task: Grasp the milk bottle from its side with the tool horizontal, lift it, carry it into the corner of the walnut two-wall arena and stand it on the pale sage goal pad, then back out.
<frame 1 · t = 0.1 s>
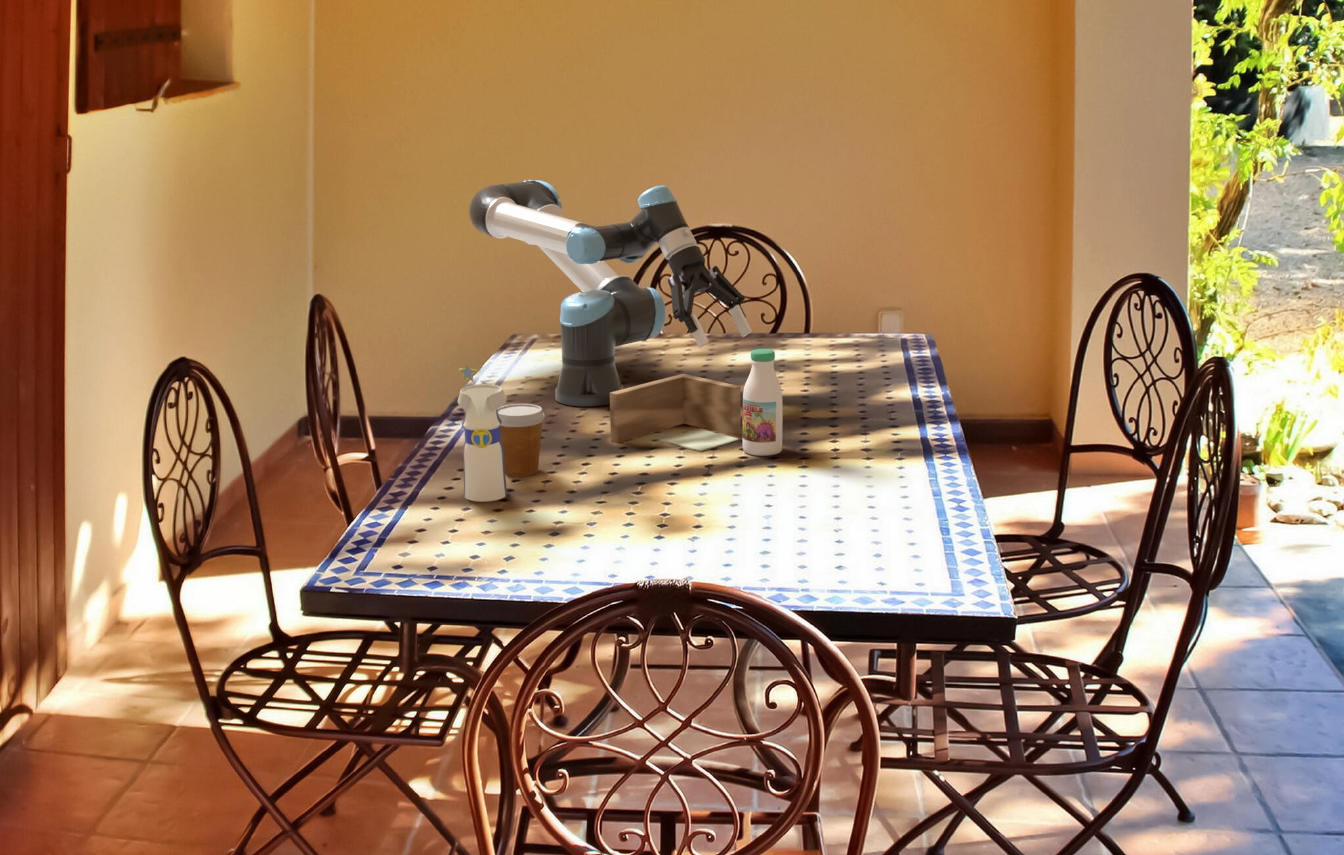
hand: (725, 339, 306), 15 cm above the table, tool tilted 35°, fingers open, 13 cm apart
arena: (699, 440, 287), on the table
disposable coffee cup: (521, 472, 269), on the table
milk bottle: (762, 452, 280), on the table
cream tall piece: (486, 495, 256), on the table
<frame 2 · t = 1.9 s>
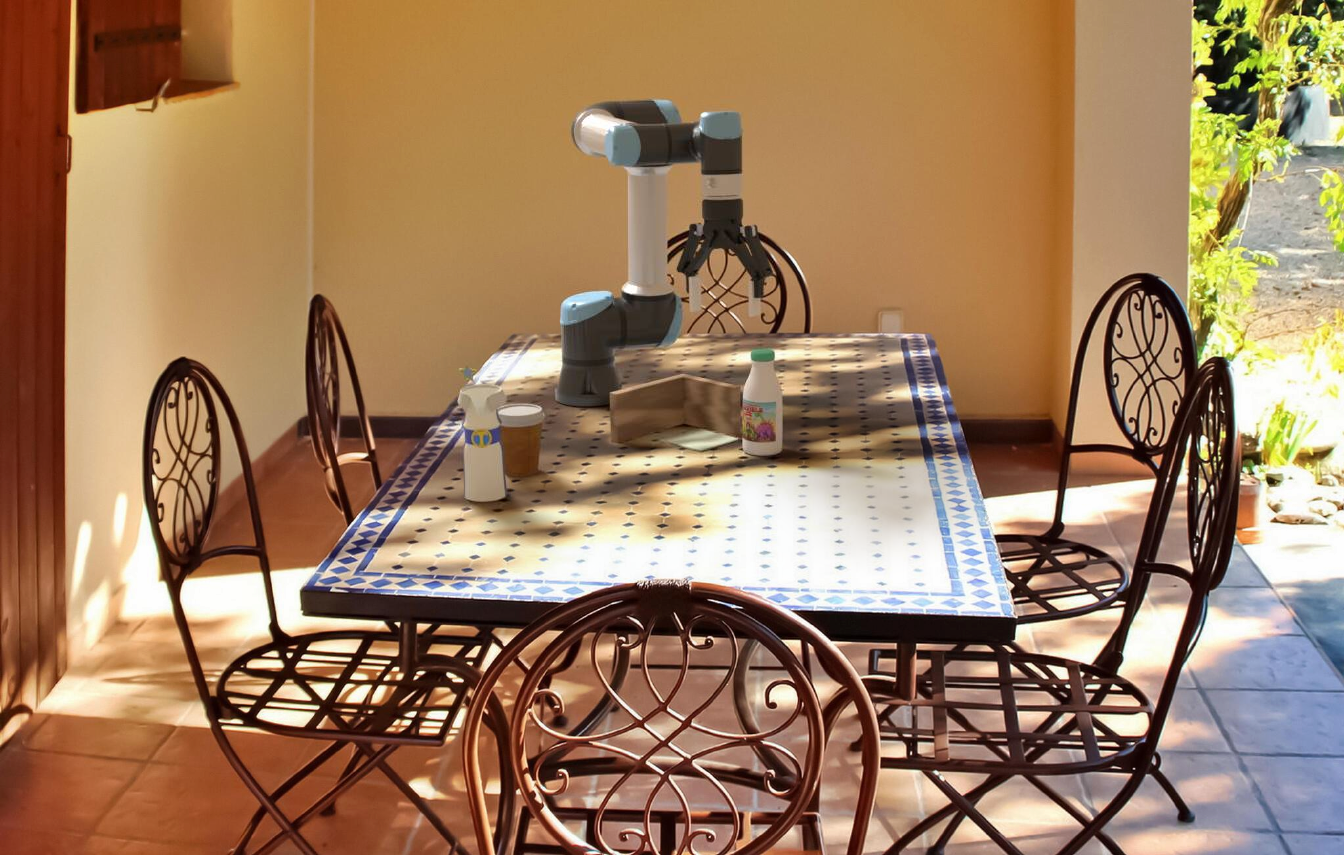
hand: (724, 313, 267), 28 cm above the table, tool pointing down, fingers open, 13 cm apart
nothing on the table moved.
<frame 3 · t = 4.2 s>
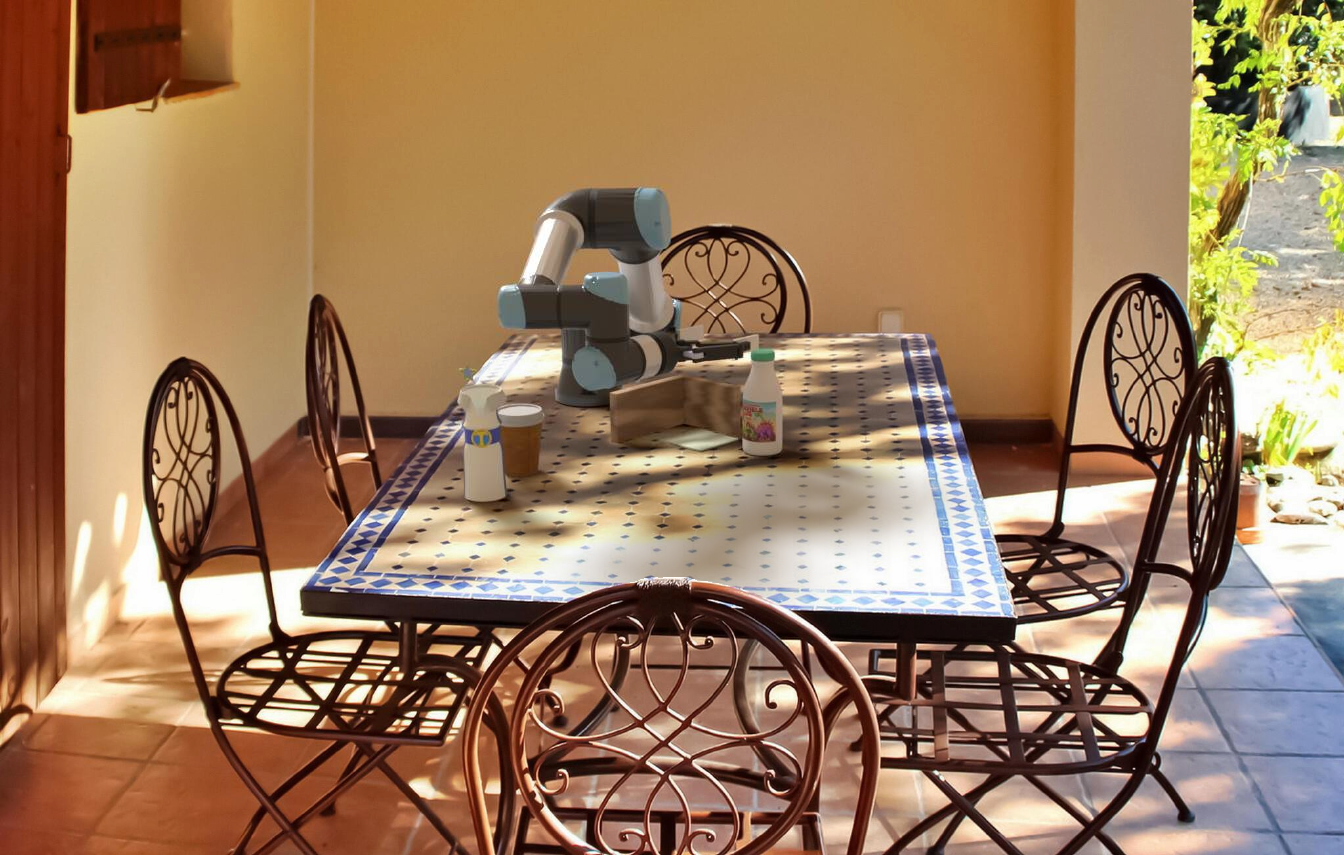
hand: (729, 336, 267), 24 cm above the table, tool horizontal, fingers open, 13 cm apart
nothing on the table moved.
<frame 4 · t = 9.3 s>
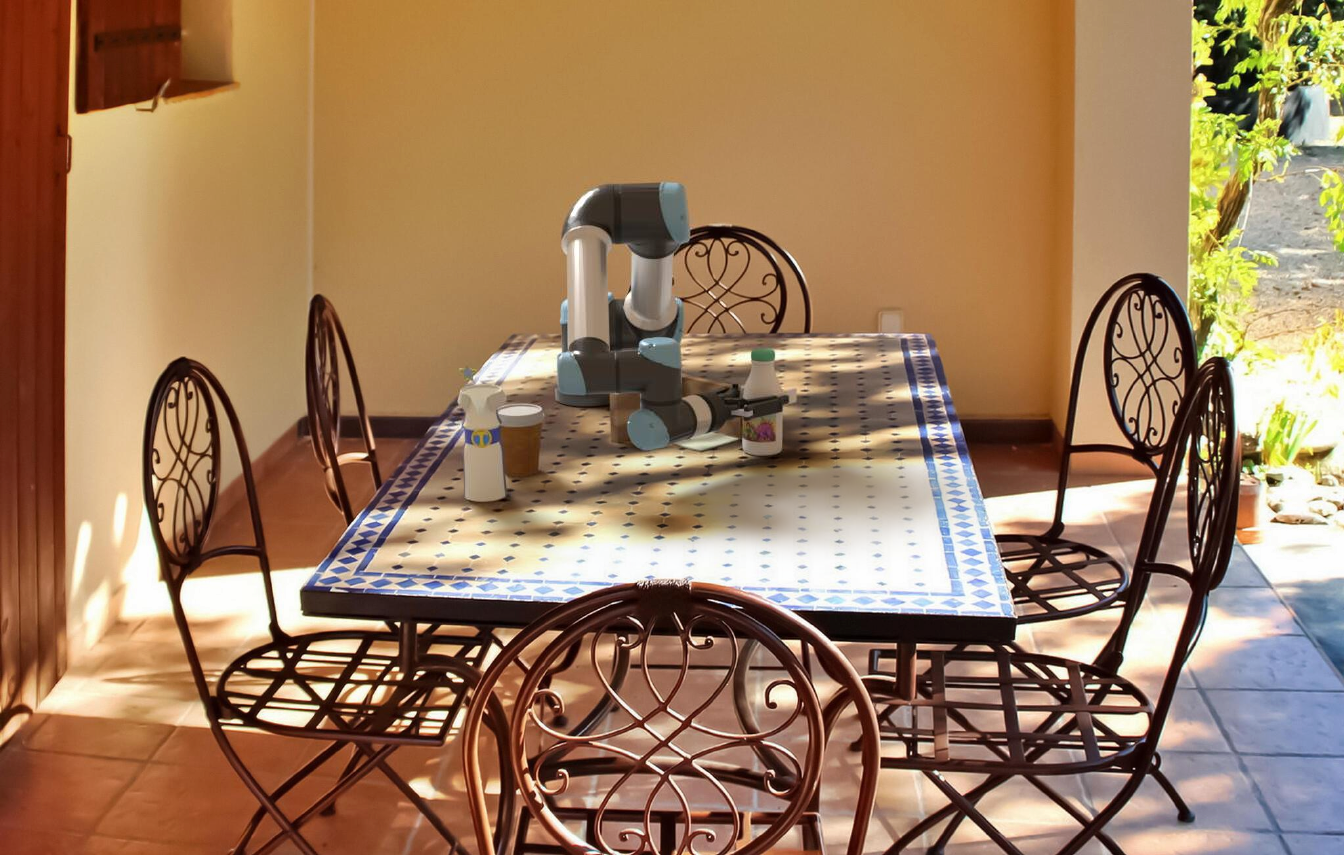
hand: (778, 391, 280), 11 cm above the table, tool horizontal, fingers closed on milk bottle, 7 cm apart
milk bottle: (762, 451, 280), on the table, touching gripper
everything else where it was.
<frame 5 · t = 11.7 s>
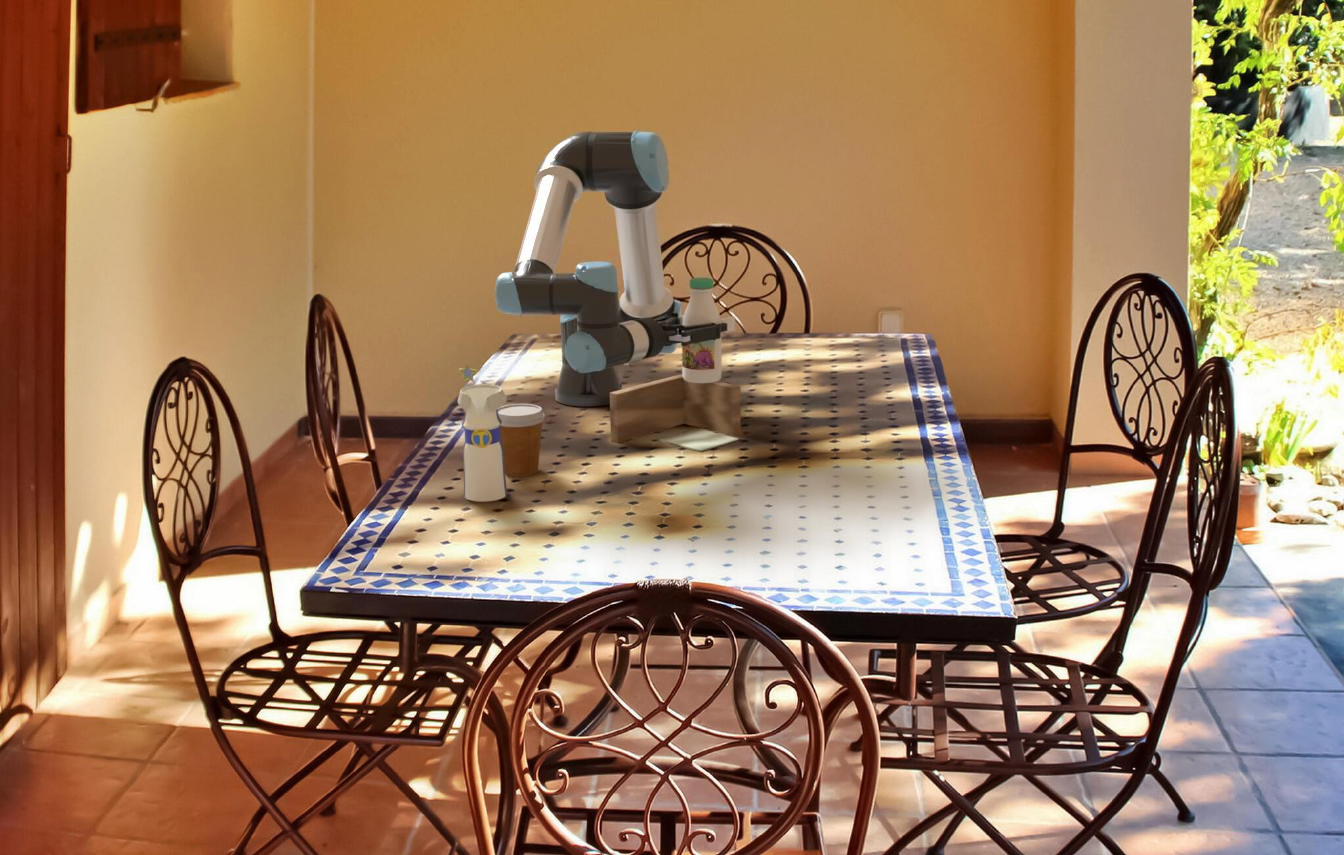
hand: (718, 320, 284), 24 cm above the table, tool horizontal, fingers closed on milk bottle, 7 cm apart
milk bottle: (701, 380, 284), point 12 cm above the table, touching gripper
everything else where it was.
when the fingers open (12 cm above the table, at t = 14.4 s): milk bottle drops 1 cm, resting on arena.
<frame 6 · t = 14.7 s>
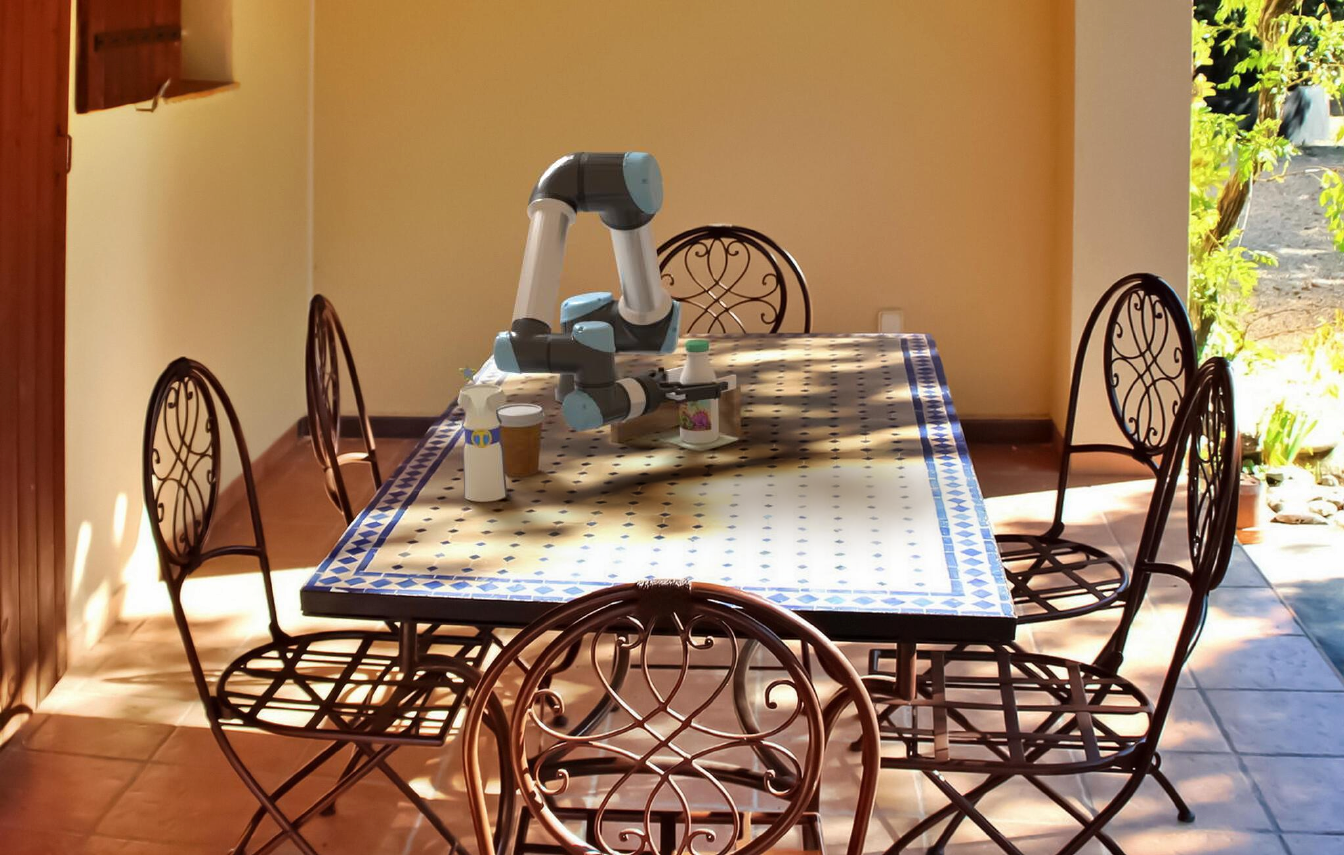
hand: (711, 376, 286), 12 cm above the table, tool horizontal, fingers open, 11 cm apart
milk bottle: (699, 440, 287), resting on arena
everything else where it was.
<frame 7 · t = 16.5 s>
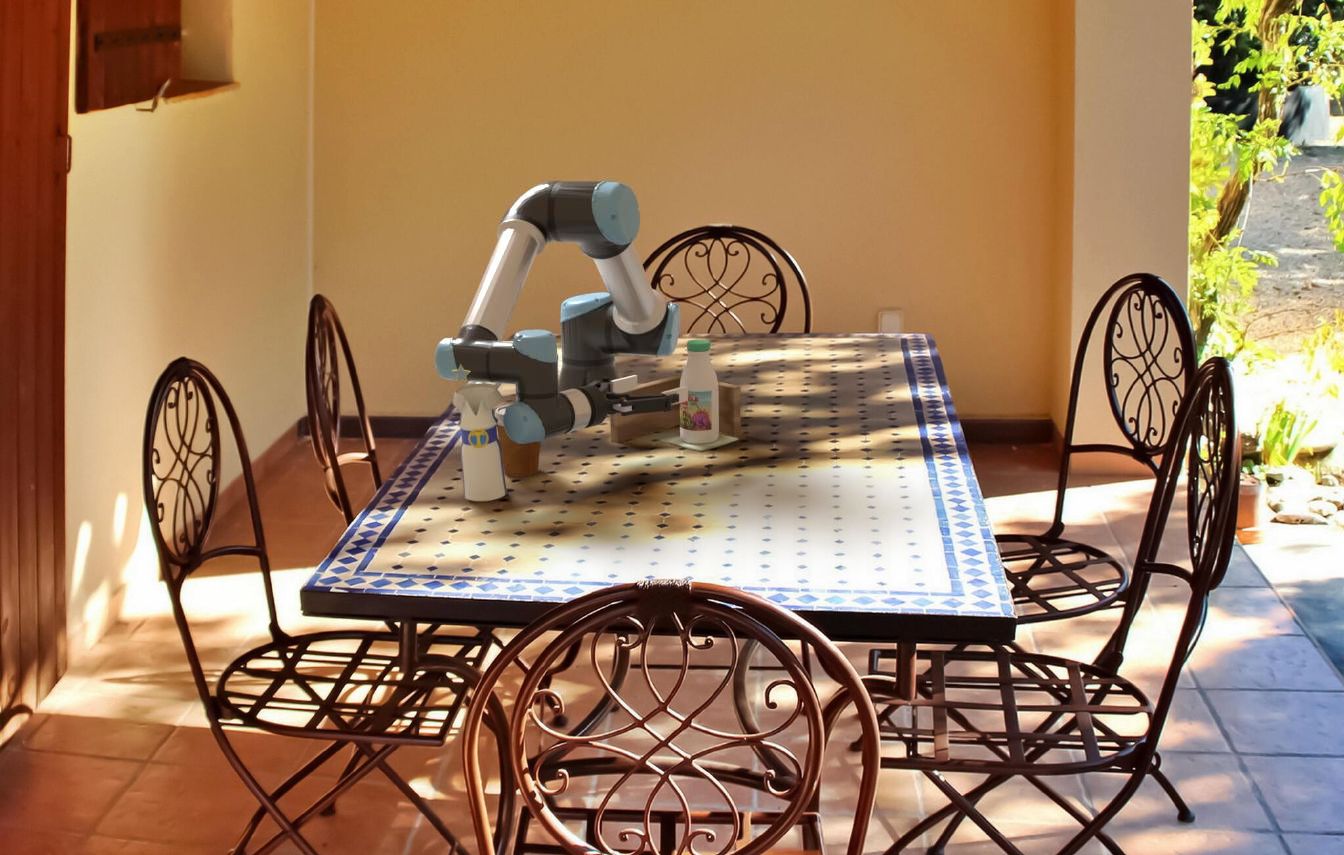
hand: (661, 387, 276), 13 cm above the table, tool horizontal, fingers open, 13 cm apart
cream tall piece: (486, 494, 256), on the table, touching arm
everything else where it was.
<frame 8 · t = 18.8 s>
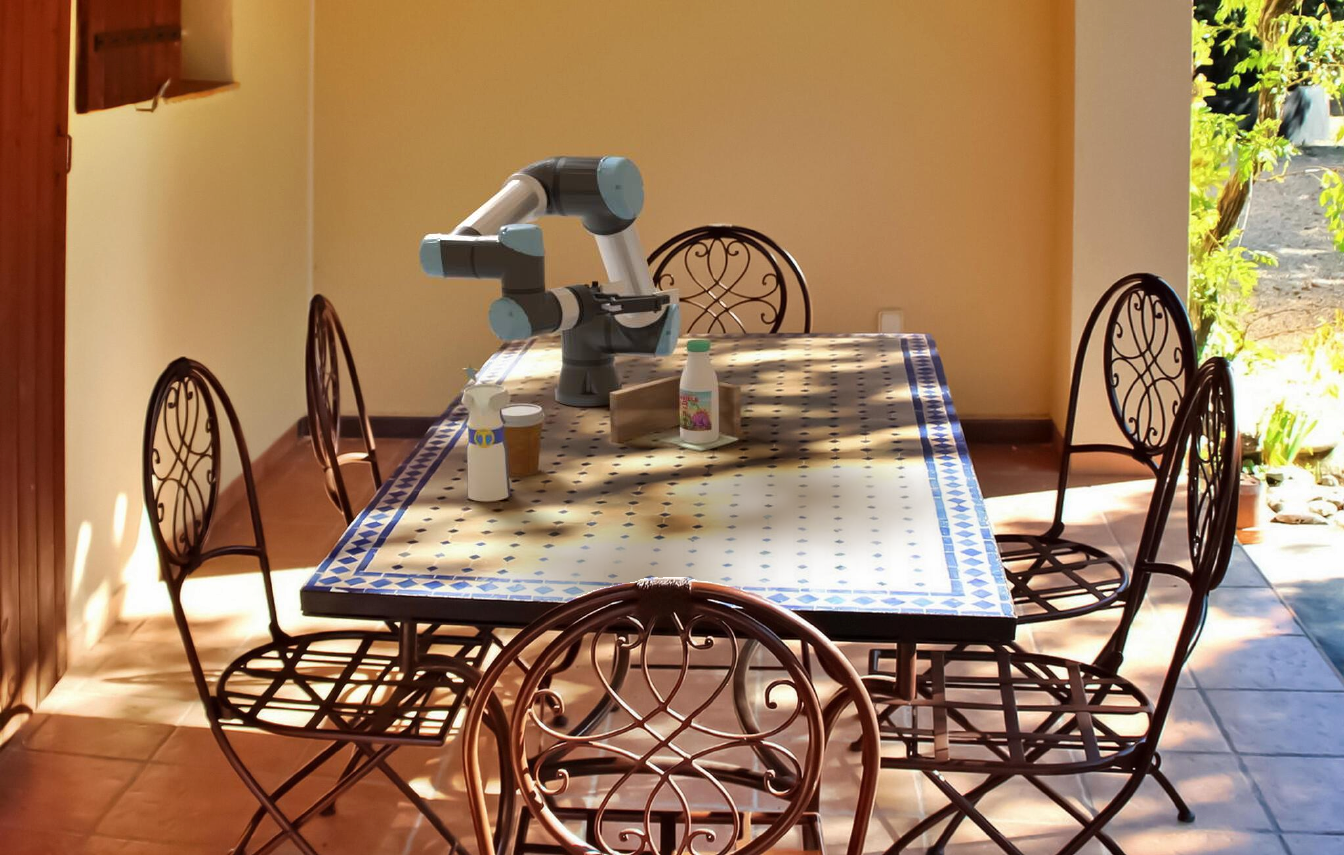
hand: (651, 291, 270), 32 cm above the table, tool horizontal, fingers open, 13 cm apart
cream tall piece: (490, 495, 256), on the table
everything else where it was.
at the end: milk bottle inside the target area on the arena (0.3 cm from its centre), point 0.1 cm above the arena's base; milk bottle tilted 0°; the gripper is holding nothing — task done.
